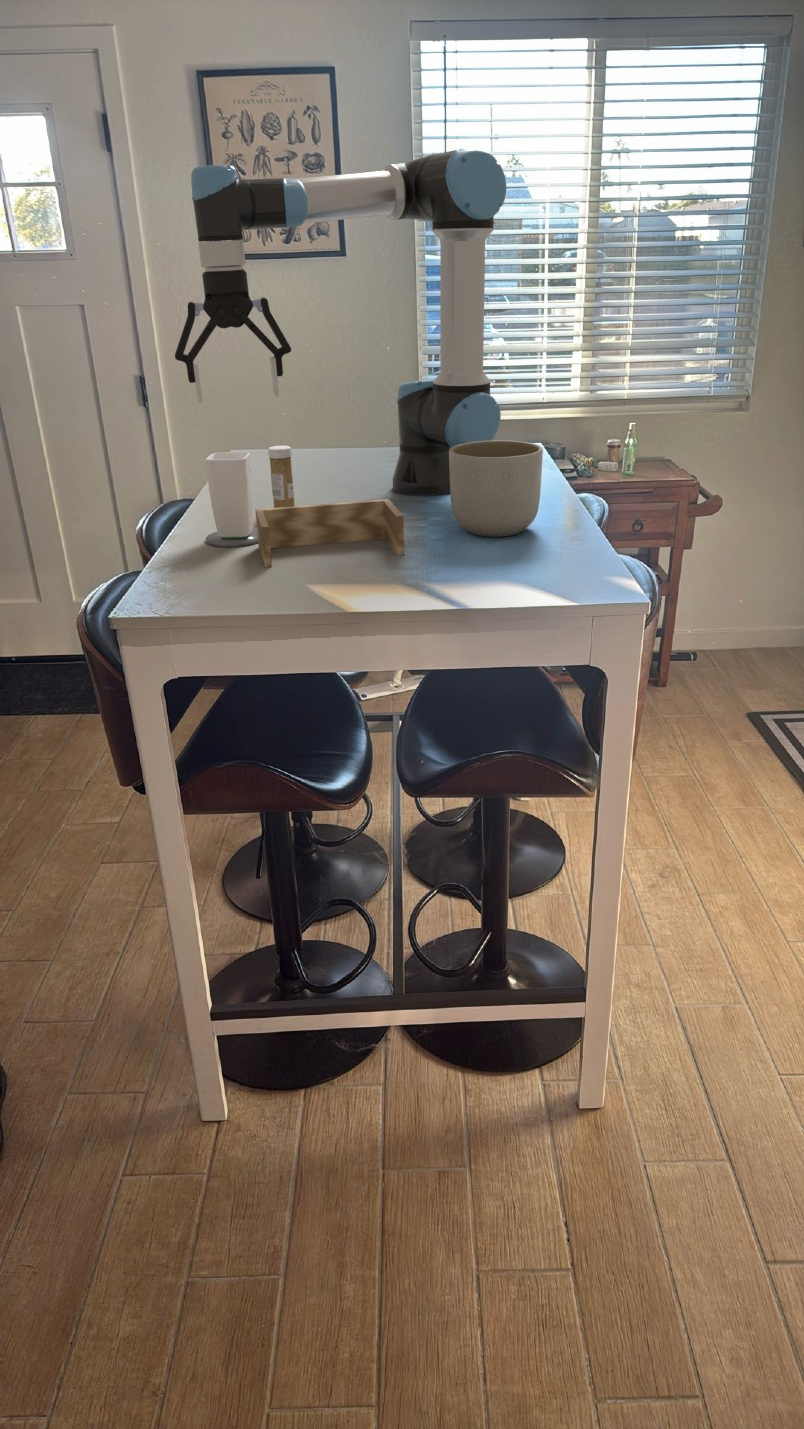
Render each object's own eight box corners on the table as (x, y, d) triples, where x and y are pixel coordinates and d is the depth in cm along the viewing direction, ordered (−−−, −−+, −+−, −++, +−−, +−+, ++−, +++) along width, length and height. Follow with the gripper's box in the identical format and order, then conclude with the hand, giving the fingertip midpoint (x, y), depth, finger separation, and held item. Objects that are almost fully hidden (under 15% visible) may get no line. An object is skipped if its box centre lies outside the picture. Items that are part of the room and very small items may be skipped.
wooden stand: (389, 536, 186) (388, 499, 183) (404, 555, 174) (403, 515, 171) (258, 547, 181) (255, 509, 178) (264, 567, 170) (261, 527, 167)
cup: (212, 541, 184) (203, 460, 177) (221, 531, 190) (212, 452, 184) (251, 541, 183) (243, 459, 177) (258, 530, 190) (251, 451, 183)
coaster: (262, 529, 193) (262, 526, 192) (267, 544, 183) (267, 541, 183) (205, 534, 191) (204, 531, 190) (207, 549, 181) (206, 546, 181)
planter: (548, 521, 192) (551, 441, 185) (529, 545, 177) (531, 459, 171) (463, 517, 197) (463, 438, 191) (438, 539, 183) (437, 455, 176)
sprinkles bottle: (299, 514, 203) (294, 447, 197) (279, 517, 201) (274, 450, 195) (289, 509, 207) (284, 443, 201) (269, 513, 204) (264, 446, 199)
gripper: (294, 264, 174) (304, 390, 184) (149, 272, 170) (167, 401, 179) (299, 265, 168) (310, 396, 177) (148, 273, 163) (167, 407, 173)
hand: (238, 398), depth 178 cm, fingers open, 13 cm apart
